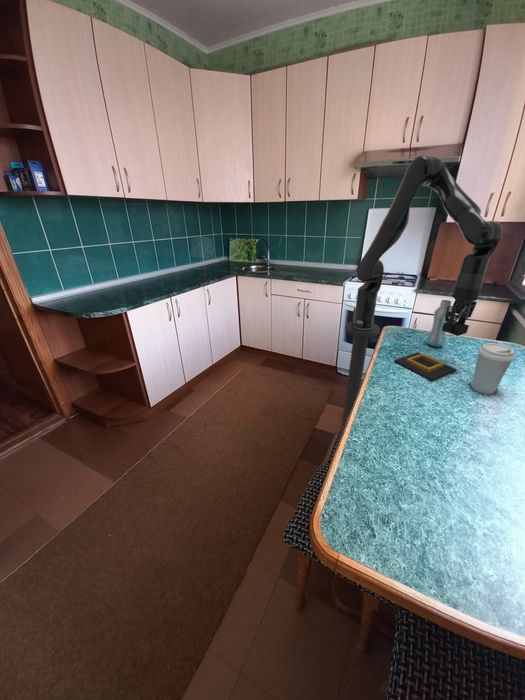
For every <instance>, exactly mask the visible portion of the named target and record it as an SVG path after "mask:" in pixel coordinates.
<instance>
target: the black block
mask: <svg viewBox="0 0 525 700" xmlns="http://www.w3.org/2000/svg"><path fill="white" fill-rule="evenodd" d="M455 324H456V325H455V328H454V331H453V333H449V332H446V329H447V326H448V322H446V323H444V324H443V328H442V331H445V332H446V333H447V334H451V335H452V336H453V335H454V336H457V337H459V336H463V335H466V334H468V330H469V327H470V325H469V324H466V323H465V324H463V323H460V322H458V321H457V322H456V323H455Z"/></svg>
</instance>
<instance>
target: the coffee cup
mask: <svg viewBox="0 0 525 700" xmlns="http://www.w3.org/2000/svg"><path fill="white" fill-rule="evenodd" d="M477 354H478V356H477V360H476V363H475V368H474V372H473V376H472V381H471V384H470V385H471V386H470V387H471V388H472V389H473V390H474V391H476V392H478V393H482V394H486V395H492V394H494V393H495V392H496V391H497V388H498V387H499V385H500V383H501V381H502V379H503V378H504V376H505V374H506V372H507V371H508V369H509V367H510V365H511V363H512V362H514V361H515V360H516V355H515V350H513V349H512V348H511V347H509V346H507V345H503V344H500V343H494V342H493V343H492V342H488V343H483V345H482V346H479V348H478V349H477Z"/></svg>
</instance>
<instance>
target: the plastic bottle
mask: <svg viewBox="0 0 525 700" xmlns="http://www.w3.org/2000/svg"><path fill="white" fill-rule="evenodd" d="M448 306H452V301H451V300H449V299H442V300H441V301H440V304H439V306H438V307H437V308H436V309H435V310H434V312H433V321H432V326H431V329H430V332H429V335H428V336H427V344H428V345H429V346H432V347H436V348H437V347H442V346H443V345H444V344H445V342H446V333H447V332H445V331H442V328H443V324H444V323H446V322H447V321H445V316H446V311H447V307H448ZM449 317H450V316H449Z"/></svg>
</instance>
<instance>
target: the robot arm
mask: <svg viewBox="0 0 525 700" xmlns="http://www.w3.org/2000/svg"><path fill="white" fill-rule="evenodd" d="M421 187H428V188H429V189H431V190H433V191H434V192H435V193H436V194H437V195H438V197H439V198H440V200H441V203H442V207H443V209H444V211H445V212H446V214H447V215H448V216H449V217H450V219H451V220H452V221H453V222H454V223H455V224H456V225H457V227H458V228H459V229H458V230H459V231H460V233H461V235H462V236H463V239H464V240H465V241H466V242H467V243H469V244H470V245H471V246H473V247H472V249H471V250H470V252H468V253H466V254H465V255H464V258H463V260H462V263H461V267H460V270H459V273H458V275H457V277H456V281H455V284H454V287H453V291H452V294H451V297H452V298H453V299H454V302H453V304H452V305H451V306H448V307H447V311H446V316H445V321H447V322H448V326H447V329H446V333H447V332H449V333H448V334H450V333H453V331H454V328H455V325H456V324H455V323H456V322H460V323H463V324H466V321H468V319H469V318H471V317H472V315H473V313H474V310H475V308H476V306H477V303H478V302H477V300H478V299H479V296H480V293H481V290H482V288H483V287H482V286H483V284H484V281H485V276H486V272H487V269H488V266H489V263H490V259H491V257H492V256H493V255H494V252H495V251H496V249H497V247H498V246H499V244H500V242H501V240H502V237H503V232H504V227H503V225H502V224H501V223H500V222H499V221H496V220H485V219H484V218H483V217H482V215H481V214H482V210H481V208H480V206H479V205H478V204H477V203H476V202H475V201H474V200H473V199H472V198H471V197H470V196H469V195H468V194H467V193H466V192H465V190H463V188H462V187H461V186H460V185H459V184H458V182H457V181H456V180H455V178H454V177H453V175H452V174H451V172H450V170H449V169H448V167H447V165H446V164H445V162H444V161H443V160H442V158H441V157H439V156H436V155H418V156H416V157H415V158H414V159H413V160H411V162H410V163H409V165H408V167H407V168H406V171H405V173H404V175H403V178H402V180H401V183H400V185H399V188H398V190H397V192H396V194H395V197H394V199H393V200H392V203H391V205H390V206H389V209H388V211H387V213H386V215H385V216H384V218H383V220H382V221H381V223H380V226H379V228H378V231H377V232H376V235H375V236H374V238H373V240H372V241H371V243H370V245H369V247H368V249H367V251H366V252H365V254H364V255H363V257H362V258H361V260H360V261H359V263H358V265H357V267H356V272H355V273H356V274H355V275H356V278H357V279H358V280H359V281H361V282H364V283H363V284H361V286H359V287H358V288H357V294H356V299H355V300H356V301H355V307H354V308H353V312H352V318H351V319H352V320H351V322H352V326H353V328H355V329H357V330H362V331H368V330H371V329H372V325H373V324H374V318H375V313H376V307H377V301H378V295H379V294H378V293H379V291H380V290H381V288H382V287H381V286H382V282H383V277H384V273H385V267H384V263H383V262H382V261H381V260H380V259H381V258H382V257H383V256H384V254H386V252H388V251H389V250H390V249H391V248H392V247H393V246H394V245H395V244H396V243H397V242H398V241H399V240H400V239H401V237H402V235H403V233H404V232H405V230H406V228H407V227H408V224H409V221H410V212H411V205H412V202H413V200H414V198H415V197H416V195H417V193H418V191H419V190H420V188H421ZM449 316H450V317H449Z"/></svg>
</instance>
